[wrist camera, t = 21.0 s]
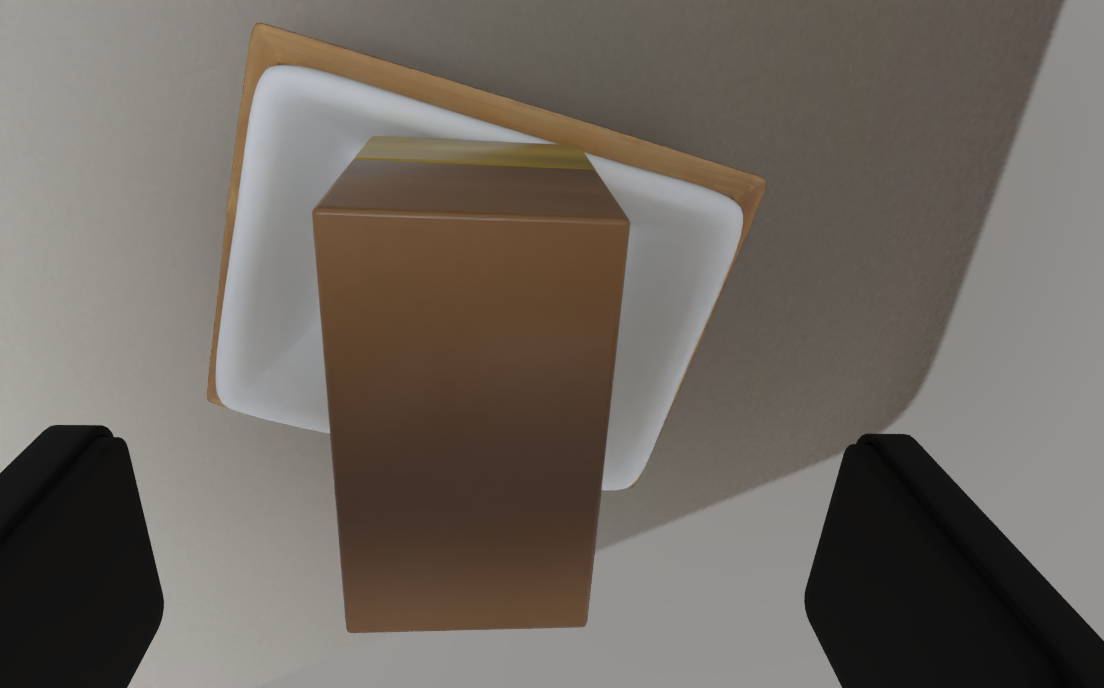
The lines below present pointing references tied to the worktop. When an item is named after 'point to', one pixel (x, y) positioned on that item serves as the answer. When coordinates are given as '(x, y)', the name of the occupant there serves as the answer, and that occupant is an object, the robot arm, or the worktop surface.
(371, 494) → the scrub brush
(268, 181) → the soap dish
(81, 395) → the worktop surface
